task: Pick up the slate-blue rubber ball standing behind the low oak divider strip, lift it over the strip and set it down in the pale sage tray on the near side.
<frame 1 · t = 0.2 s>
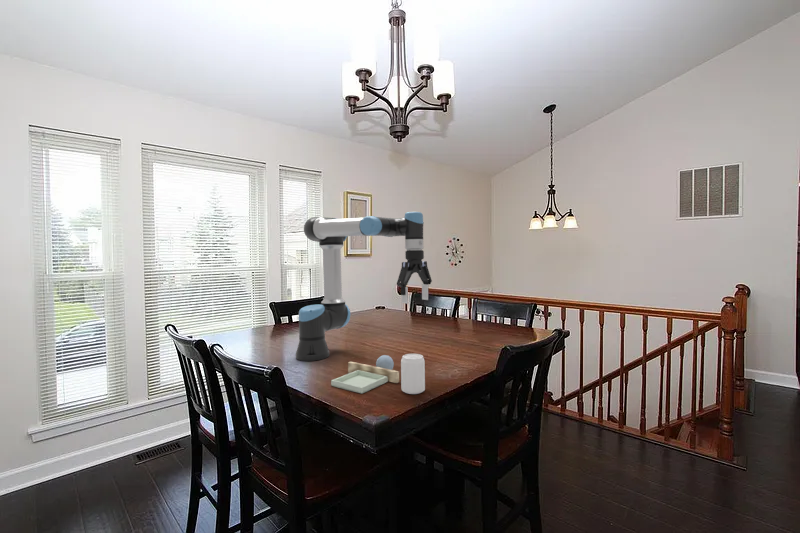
hand: (415, 301, 160), 27 cm above the table, fingers open, 13 cm apart
divider: (372, 376, 148), on the table
tray: (359, 383, 141), on the table
ball: (385, 372, 153), on the table
beverage can: (413, 391, 133), on the table
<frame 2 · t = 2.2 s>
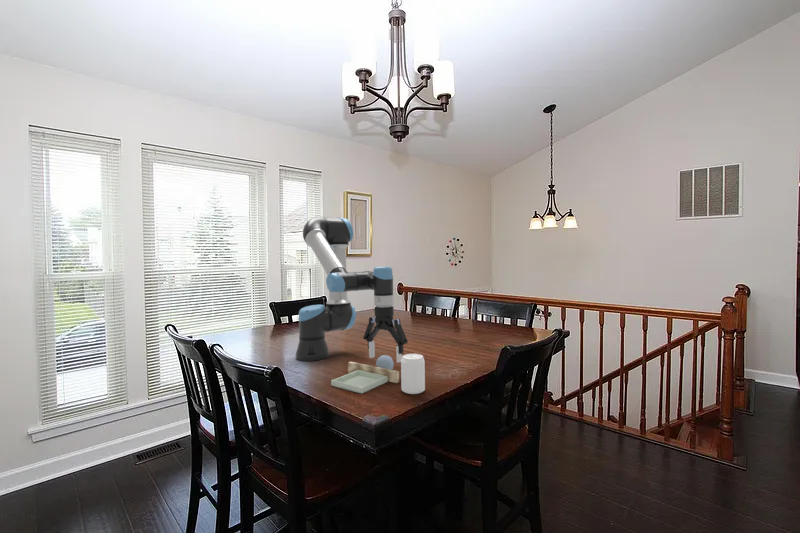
hand: (385, 359, 153), 5 cm above the table, fingers open, 13 cm apart
nothing on the table moved.
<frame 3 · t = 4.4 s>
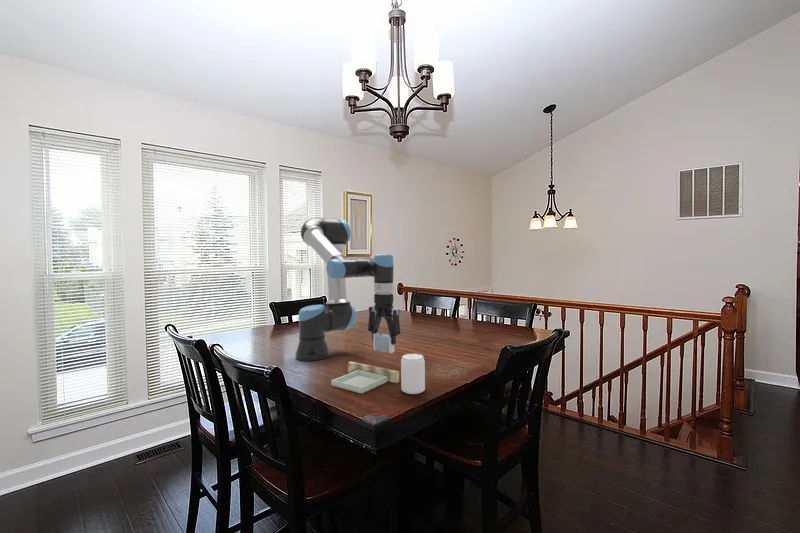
hand: (383, 350, 153), 9 cm above the table, fingers closed on ball, 7 cm apart
ball: (383, 351, 153), point 8 cm above the table, touching gripper
everything else where it was.
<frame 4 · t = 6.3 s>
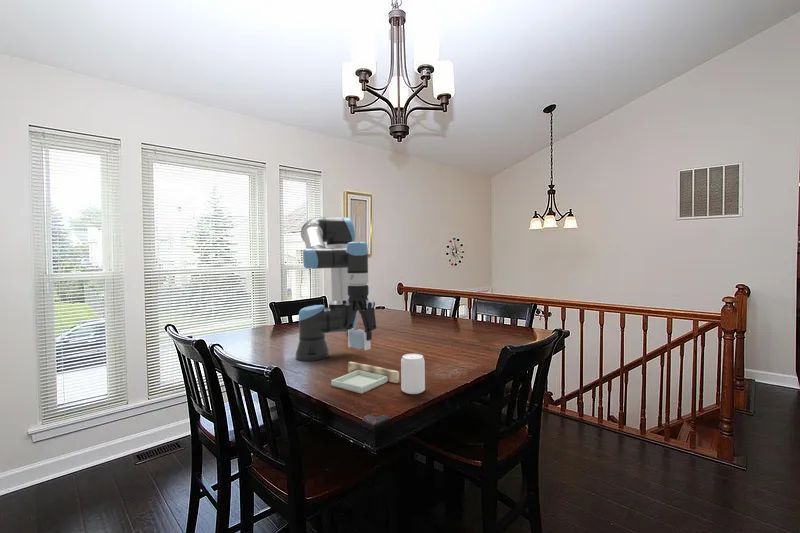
hand: (359, 347, 140), 13 cm above the table, fingers closed on ball, 7 cm apart
ball: (359, 348, 140), point 13 cm above the table, touching gripper
everything else where it was.
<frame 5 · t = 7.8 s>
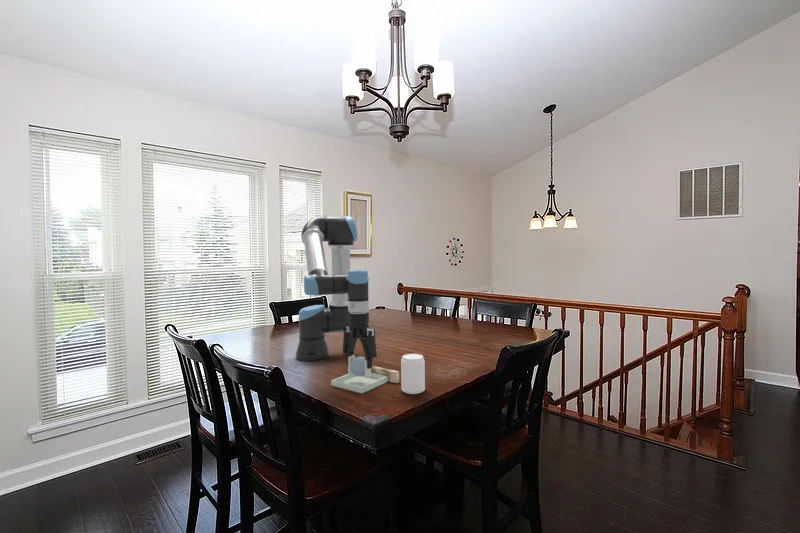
hand: (359, 375, 141), 3 cm above the table, fingers closed on ball, 7 cm apart
ball: (359, 375, 141), point 3 cm above the table, touching gripper
everything else where it was.
when the fingers open (2 cm above the table, at t = 8.6 s): ball stays where it is, resting on tray.
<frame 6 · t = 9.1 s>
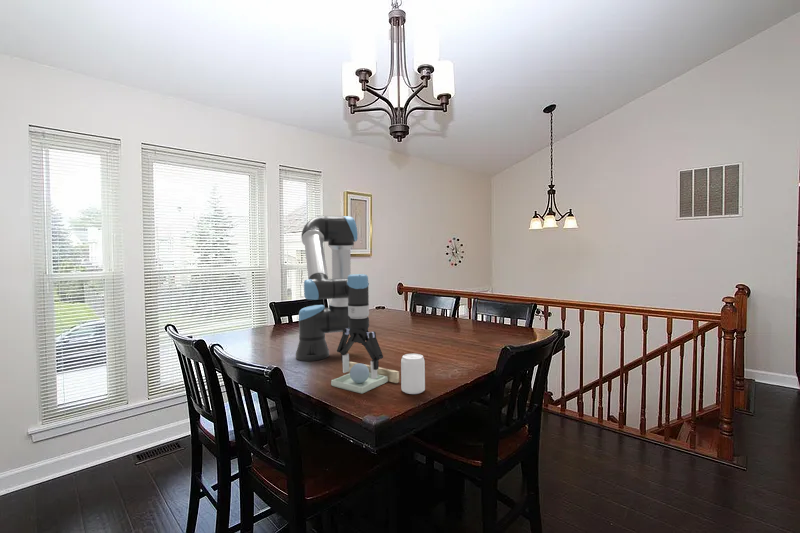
hand: (359, 375, 141), 3 cm above the table, fingers open, 13 cm apart
ball: (359, 382, 141), resting on tray
everything else where it was.
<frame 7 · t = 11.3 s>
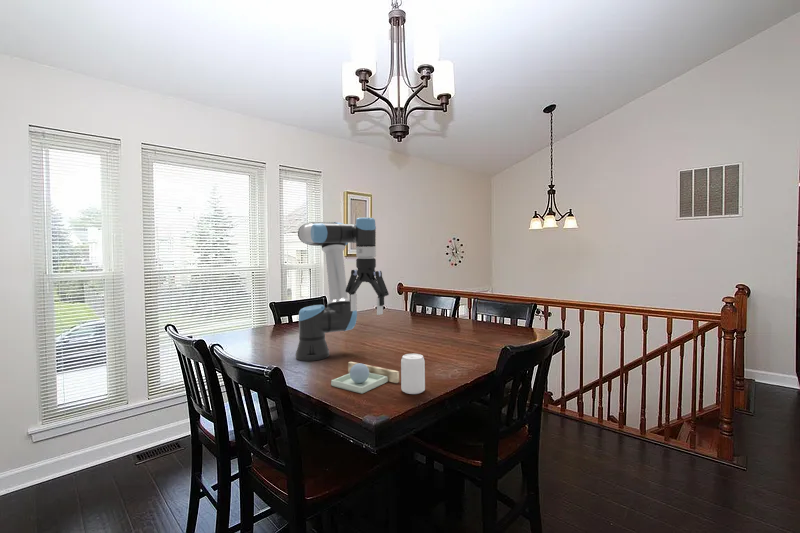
hand: (366, 312, 151), 24 cm above the table, fingers open, 13 cm apart
nothing on the table moved.
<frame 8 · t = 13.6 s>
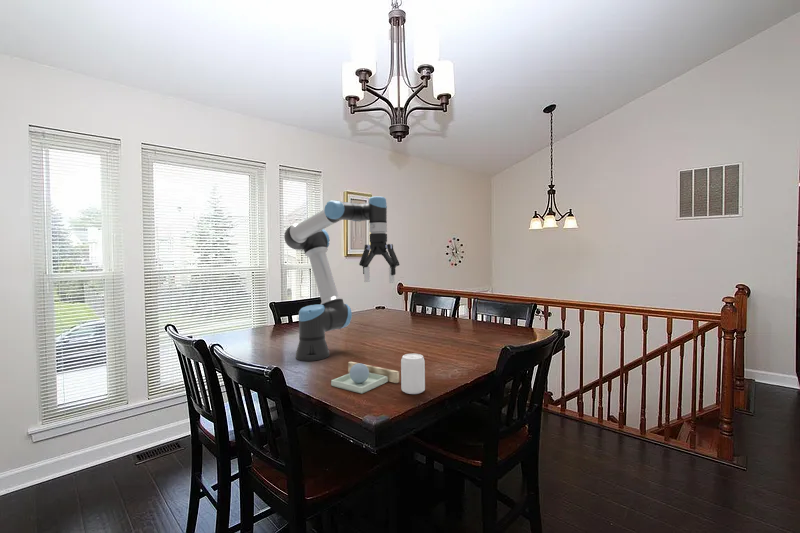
hand: (379, 282, 167), 35 cm above the table, fingers open, 13 cm apart
nothing on the table moved.
at the end: ball inside the target area on the tray (0.0 cm from its centre), point 0.4 cm above the tray's base; the gripper is holding nothing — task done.
